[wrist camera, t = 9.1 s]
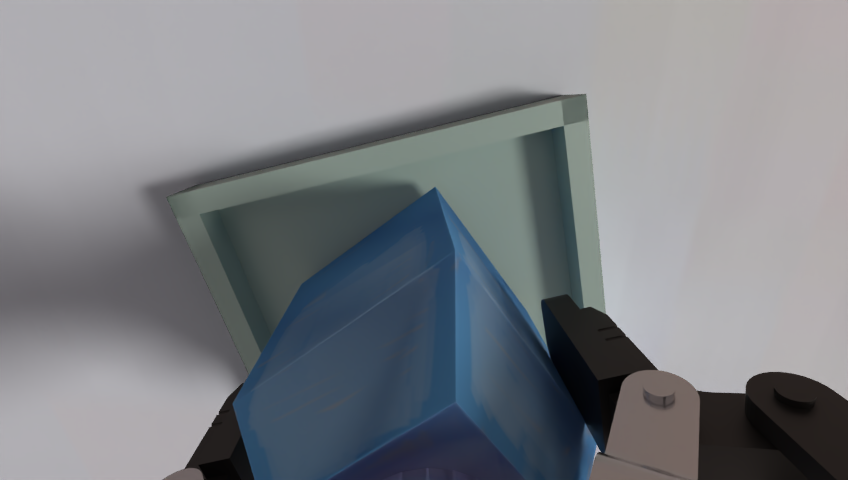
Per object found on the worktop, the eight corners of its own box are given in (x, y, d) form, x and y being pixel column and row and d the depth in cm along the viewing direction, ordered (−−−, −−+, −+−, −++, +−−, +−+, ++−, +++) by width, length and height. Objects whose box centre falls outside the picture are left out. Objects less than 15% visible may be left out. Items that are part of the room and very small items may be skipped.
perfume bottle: (435, 186, 14) (561, 585, 2) (526, 310, 16) (840, 869, 4) (301, 283, 15) (-41, 876, 4) (401, 389, 17) (388, 1005, 5)
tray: (194, 186, 15) (166, 197, 13) (564, 94, 14) (586, 94, 12) (300, 429, 19) (289, 462, 17) (593, 365, 18) (612, 393, 16)
